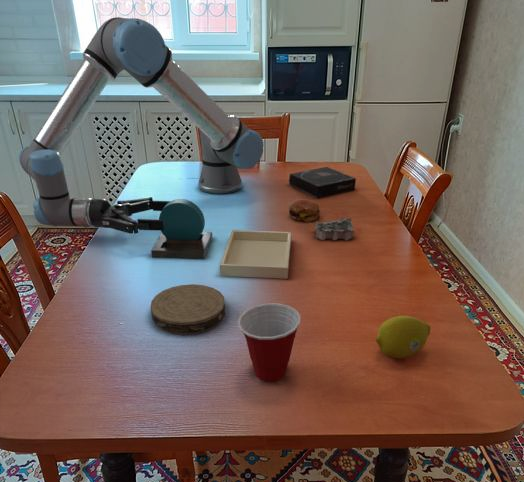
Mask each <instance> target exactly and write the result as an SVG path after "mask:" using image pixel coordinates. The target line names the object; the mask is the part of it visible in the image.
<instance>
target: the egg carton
mask: <svg viewBox="0 0 524 482" xmlns="http://www.w3.org/2000/svg"><path fill="white" fill-rule="evenodd" d="M354 232H355V230H354V227H353V221H352V217H345V218H340V220H333V221H323V222H320V221H316V222H315V234H316V238H317V239H319V240H321V241H325V240H327V239H331V240H333V241H337V240H339V239H343V240H345V241H349V240H350V239H351V240H352V239H353V236H354Z"/></svg>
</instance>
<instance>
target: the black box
mask: <svg viewBox="0 0 524 482" xmlns="http://www.w3.org/2000/svg"><path fill="white" fill-rule="evenodd" d="M288 183H289V184H288V185H289V186H290V187H293V188H295V189H296V190H299V191H301V192H303V193H304V194H307V195H309V196H311V197H313V198H315V199H321V198H326V197H330V196H331V197H332V196H335V195H339V194H343V193H347V192H353V191H355V189H356V183H357V178H355V177H353V176H350V175H348V174H345V173H343V172H341V171H338V170H335V169H333V168H330V167H329V166H323V167H319V168H314V169H309V170H308V169H307V170H304V171H299V172H295V173H294V172H293V173H290V174H289V178H288Z"/></svg>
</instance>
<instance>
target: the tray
mask: <svg viewBox="0 0 524 482" xmlns="http://www.w3.org/2000/svg"><path fill="white" fill-rule="evenodd" d="M291 245H292V231H274V230H273V231H272V230H271V231H270V230H269V231H268V230H245V229H244V230H238V229H232V230H231V232H230V235H229V237H228V241H227V243H226V246H225V249H224V252H223V255H222V257H221V261H220V263H219V273H220V274H219V275H220V277H233V278H234V277H235V278H237V277H238V278H259V279H260V278H261V279H283V280H284V279H285V280H286V279H288V278H289V267H290V257H291V256H290V255H291Z"/></svg>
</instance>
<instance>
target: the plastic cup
mask: <svg viewBox="0 0 524 482" xmlns="http://www.w3.org/2000/svg"><path fill="white" fill-rule="evenodd" d="M301 317H302V316H301V314H300V312H298V310H297V309H295V308H294V307H292V306H291V305H288V304H284V303H278V302H277V303H276V302H275V303H274V302H273V303H272V302H271V303H270V302H269V303H268V302H267V303H266V302H265V303H262V304H257V305H254V306H252V307H250V308H248V309H245V311H244V312H243V313H241V315H240V316H239V318H238V321H237V325H238V327H239V330H240V331H241V333H243V335H244V338H245V341H246V345H247V349H248V353H249V357H250V361H251V364H252V369H253V371H254V374H255V376H256V378H258V379H259V380H260V381H263V382H266V383H267V382H269V383H273V382H278V381H281V380H282V379H283V378H284V377H285V375H286V373H287V370H288V366H289V362H290V359H291V356H292V350H293V345H294V342H295V338H296V334H297V331H298V328H299V327H300V325H301Z"/></svg>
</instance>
